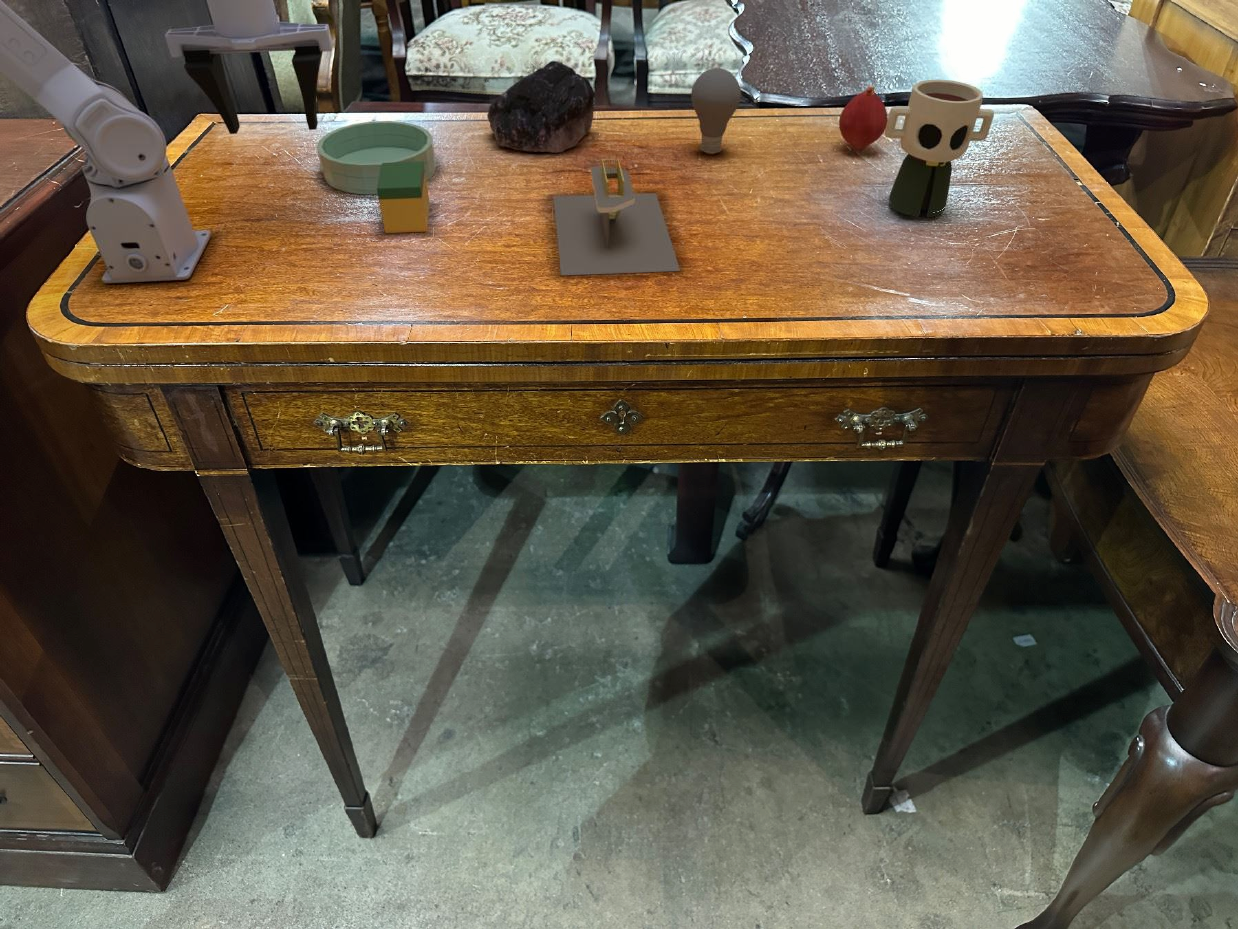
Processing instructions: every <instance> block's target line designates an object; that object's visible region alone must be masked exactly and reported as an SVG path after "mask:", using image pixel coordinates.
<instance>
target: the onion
mask: <svg viewBox="0 0 1238 929" xmlns="http://www.w3.org/2000/svg"><path fill="white" fill-rule="evenodd" d="M875 89H876V88H875V86H873V85H870V86H868V87H867V88H866V89H865V90H863V91H862V92H860V93H859V94H857V95H855V96H854V97H853V98H852V99H851V100H849V102H848V103H847V104H846V105H845V106H844V108H843V109H842V111H841V113H840V116H839V120H838V127H839V128H838V129H839V131H840V134H841V137H842V138H843V139H844V141H845V142H846V143H847V144H848V145H849V146H850V147H851V148H852V150H853V151H854V152H861V151H863V150H865V149H866V148H867V147H868V146H870V145H872V144H873V143H874V142H876V141H878V140H879V139H880V138H881V136H883V134H885V129H886V125H887V120H888V112H887V108H886V106H885V103H884V102H883V99H881V97H879V96H878V95H877V94H876V92H875ZM866 146H867V147H866Z"/></svg>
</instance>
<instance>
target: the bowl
mask: <svg viewBox="0 0 1238 929" xmlns="http://www.w3.org/2000/svg"><path fill="white" fill-rule="evenodd" d="M316 152H317V156H318V160H319V164H320V170H321V173H322V175H323V178H324V180H325V182H326V184H328V185H329V186H330V187H332V188H334V189H335V190H338V191H340V192H345V193H350V194H355V195H378V193H377V185H378V181H379V176H380V171H381V166H382V163H391V162H419V161H423V162H424V169H425V176H426V182H427V181H429V180H430V179H431V178H432V177H433V176H434V175H435V173H436V171H437V159H436V151H435V143H434V136H433V135H432V134H431V133H430V131H428V129H426V128H424V127H422V126H421V125H417V124H413V123H409V122H405V121H396V120H394V121H393V120H375V121H374V120H372V121H365V122H358V123H357V122H356V123H353V124H349V125H345V126H342V127H341V126H340V127H338V128H336V129H334V130H332V131H329V132H327V133H326V134H325V135H324V136H322V137H321V138H320V139H319V140H318V142H317V144H316Z"/></svg>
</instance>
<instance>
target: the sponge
mask: <svg viewBox="0 0 1238 929" xmlns="http://www.w3.org/2000/svg"><path fill="white" fill-rule="evenodd" d="M428 190H429V189H428V183H427V181H426V176H425V169H424V162H423V161H419V162H391V163H382V166H381V171H380V176H379V181H378V185H377V193H378V194H377V197H378V202H379V208H380V213H381V218H382V223H383V229H384V233H385V234H397V233H423V232H425V233H426V232H428V226H429V216H430V208H431V203H430V197H429V191H428Z"/></svg>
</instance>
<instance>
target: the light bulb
mask: <svg viewBox="0 0 1238 929" xmlns="http://www.w3.org/2000/svg"><path fill="white" fill-rule="evenodd" d="M690 96H691V97H690V98H691V104H692V107H693V109H694V113H695V114H696V116H697V119H698V122H699V131H700V132H701V142H700V150H701V151H703V152H704V153H706V154H707V155H714V154H716V153H719V152H721V151H722V144H723V142H722V141H723V136H724V134H725V133H726V131H727V127H728V123H729V122H730V120H731V118H732V117H733V116H734V113H735V112H736V111H737V109H738V107H739V105H740V101H741V97H742V90H741V86H740V83H739V81H738V79H737V77H735V75H734V74H733V73H732V72H731V71H729V70H728V69H724V68H721V67H713V68H709V69H707V70H705V71H704V72H702V73H701V74H700V75H699V76H698V77H697V78H696V80H695V81H694V83H693V85H692V87H691V94H690Z"/></svg>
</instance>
